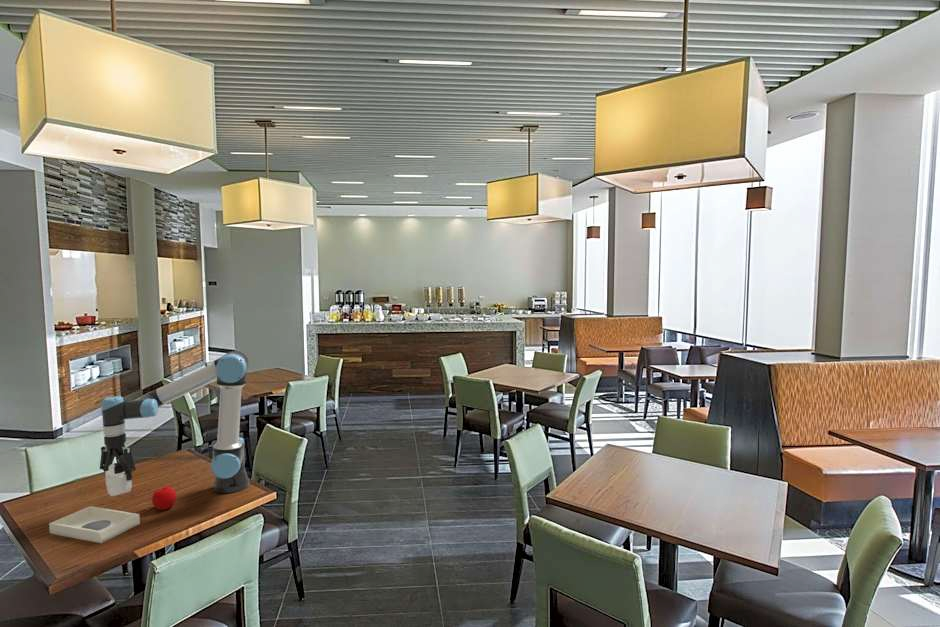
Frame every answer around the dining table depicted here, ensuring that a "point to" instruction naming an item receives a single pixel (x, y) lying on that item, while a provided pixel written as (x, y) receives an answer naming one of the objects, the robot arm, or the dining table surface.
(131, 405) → the robot arm
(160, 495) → the fruit
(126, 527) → the tray
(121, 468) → the medicine bottle
